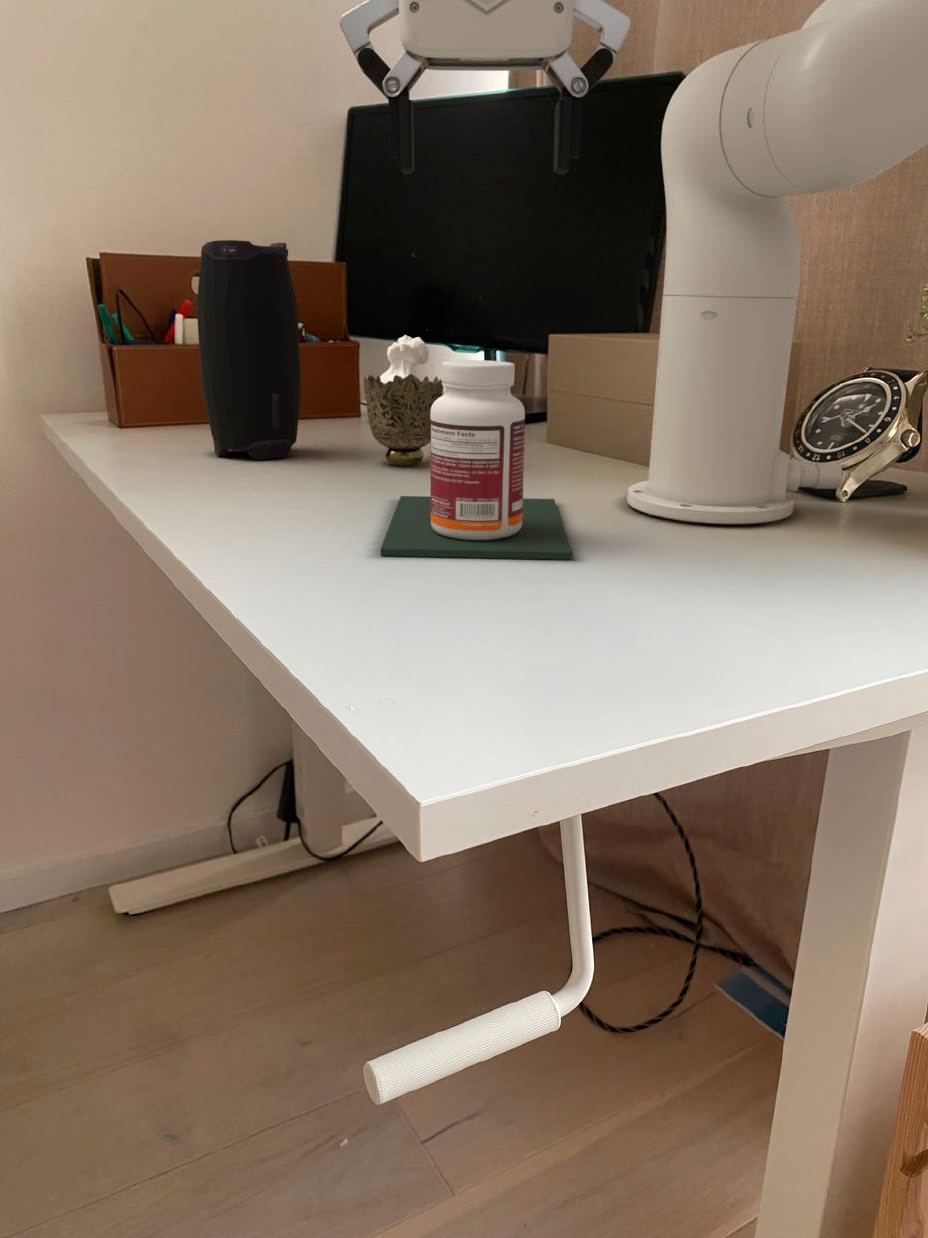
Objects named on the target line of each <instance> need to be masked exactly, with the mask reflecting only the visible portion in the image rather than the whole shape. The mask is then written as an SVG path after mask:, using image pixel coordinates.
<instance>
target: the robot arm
mask: <svg viewBox="0 0 928 1238" xmlns="http://www.w3.org/2000/svg"><path fill="white" fill-rule="evenodd" d="M396 16H398V27H399V39H400V43H401V45H402V47H403V52H402V54H401V55H400V56H399V58H398V59H397V61H396V62H395V63H394V65H393V66H392V67H391V68H390V66H389V65H388V64H387V63H386V62H385V61H384V60H383V58H381V56H380V55H379V54H378V53H377V52H376V51H375V48H374V47H373V43H372V42H371V40H370V34H371V32H372V31H373V30H374V29H376V28H378V27H379V26H381V25H383V24H385V23H386V22H388V21H389V20H391V19H393V18H395V17H396ZM574 17H575V18H577V19H578V20H580V21H582V22H584V23H585V24H587V25H588V26H590V27H592V28H593V29H594V30H596V31H597V32H598V33H599V34H600V35H599V36H600V41H599V44H598V45H597V46H596V50H595V51H594V54H593V55H592V56H591V57H590V58H589V59H588V60H587V61H586V62H585V63H584V64H583V65H582V66H581V67H580V68H579V66H578V65H577V63H576V62H575V61H574V59H573V58H572V56H571V55H570V53H569V52H568V50H567V49H568V48H569V47H570V45H571V43H572V38H573V27H574ZM339 27H340V29H341V31H342V33H343V35H344V38H345V39H346V41H347V44H348V46H349V48H350V50H351V51H352V54H353V56H354V58H355V60H356V62H357V64H358V66H359V68H360V70H361V72H362V73H363V74H364V75H365V76H366V78H367V79H369V81H370V82H371V83H372V84H373V85H374V86H375V87H376V88H377V89H378V90H379V91H380V93H382V95H383V96H384V97H385V99H386V100H387V101H388V136H389V137H388V139H389V159H394V160H395V159H400V171H401V173H402V175H412V173H414V172H415V143H414V142H415V137H414V136H415V134H414V132H415V131H414V105H413V100H412V99H410V92H411V90H412V89H413V88H414V86H415V85H416V83H417V82H418V81H419V80H420V78H421V77H422V75H423V74H424V72H425V71H426V70H430V71H457V72H458V71H464V72H465V71H469V72H470V71H472V72H473V71H474V72H476V71H477V72H478V71H479V72H481V71H482V72H484V71H485V72H487V71H488V72H489V71H490V72H495V71H496V72H500V71H501V72H502V71H503V72H505V71H507V72H508V71H509V72H512V71H513V72H514V71H518V72H519V71H520V72H521V71H541V70H543V72H544V73H545V74H546V76H547V77H548V78H549V80H550V81H551V82H552V83H553V86H555V88H556V90H558V92H559V100H558V101H557V103H556V104H555V107H554V131H553V132H554V133H553V136H554V138H553V170H552V171H553V173H556V175H565V174H567V173H568V172H569V170H570V162H571V160H577V159H579V158H580V154H581V136H582V135H581V134H582V107H583V106H582V105H583V98H584V97H585V96H586V95H587V94H588V93H589V92H590V91H591V90H592V89H593V87H595V85H596V84H597V83H598V82H599V81H600V80H601V79H602V78H603V77H604V76H605V75H606V74H607V73H608V72H609V70H610V68H611V67H612V66H613V64H614V62H615V60H616V58H617V55H618V53H619V52H620V50H621V47H622V45H623V44H624V42H625V39H626V37H627V36H628V33H629V32H630V29H631V27H632V19H631V17H630V16H629V15H628V14H627V13H624V12H623V11H621V10H620V9H618V8H616V7H615V6H614V5H612V4H610V3H609V2H607V1H605V0H366V1H363V2H361V3H360V4H358V5H357V6H355V7H354V8H352V9H351V10H349V11H347V12H345V13H344V14H343V15H342V16H341V17H340V19H339ZM661 128H662V129H661V137H660V138H661V139H660V154H661V165H662V176H663V177H662V178H663V185H664V196H665V210H666V211H665V212H666V213H665V214H666V215H665V216H666V219H665V220H666V239H665V240H666V242H665V261H664V263H665V264H664V276H663V277H664V278H663V289H662V290H663V291H662V300H661V310H660V311H661V312H660V323H659V324H660V326H659V336H658V337H659V338H658V350H657V351H658V352H657V363H656V376H655V387H654V388H655V389H654V400H653V402H654V403H653V413H652V427H651V428H652V429H651V439H650V440H651V441H650V453H649V465H648V466H649V467H648V478H647V480H644V481H643V480H642V481H639V482H636V483H633V484H631V485H630V486H629V487H628V488H627V491H626V493H627V495H626V503H627V505H628V506H630V507H631V508H633V509H634V510H636V511H638V512H641V513H644V514H647V515H651V516H655V517H659V518H663V519H669V520H673V521H681V522H690V523H697V524H698V523H699V524H714V525H755V524H764V523H773V522H777V521H781V520H784V519H787V518H788V517H790V516H791V515H792V514H793V512H794V507H795V498H794V496H792V495H790V494H789V493H797V491H798V489H799V488H812V489H814V490H815V489H816V490H838V489H839V488H840V487H841V484H842V481H843V467H842V465H841V464H840V463H833V462H831V463H830V462H827V463H826V462H814V461H808V460H806V461H805V460H804V461H803V460H799V459H798V458H791V455H790V454H788V453H787V452H785V451H782V450H781V449H780V445H781V436H782V430H783V429H782V428H783V420H784V411H785V405H786V404H785V403H786V394H787V388H788V387H787V386H788V378H789V377H788V376H789V369H790V362H791V354H792V346H793V345H792V344H793V337H794V328H795V320H796V319H795V318H796V310H797V303H798V297H799V291H800V281H801V271H802V270H801V269H802V267H801V266H802V264H801V263H802V262H801V261H802V260H801V247H800V246H801V245H800V242H799V234H798V231H797V227H796V224H795V220H794V217H793V214H792V210H791V206H790V202H789V196H800V195H809V194H818V193H824V192H833V191H839V190H843V189H847V188H851V187H855V186H858V185H860V184H862V183H865V182H867V181H869V180H871V179H873V178H875V177H877V176H879V175H881V174H883V173H885V172H886V171H888V170H889V169H892V168H893V167H895V166H897V165H898V164H900V163H901V162H902V161H905V159H908V158H909V157H910V156H912V155H914V154H915V153H916V152H919V150H921V149H922V148H924V147H925V146H927V145H928V0H824V1H823V2H822V3H821V4H820V5H819V6H818V7H817V8H816V9H815V10H814V11H813V12H812V13H811V14H810V15H809V17H808V18H807V20H806V21H805V22H804V24H803V25H802V27H801V28H800V29H796V30H793V31H791V32H788V33H787V32H786V33H783V34H780V35H775V36H772V37H767V38H764V39H760V40H757V41H753V42H751V43H750V42H749V43H748V44H745V45H744V44H743V45H740V46H738V47H734V48H732V49H729V50H728V49H727V50H726V51H723V52H721V53H719V54H717V55H715V56H713V57H711V58H709V59H708V60H705V61H704V62H703V63H701V64H700V65H698V66H697V67H696V68H694V69H693V70H692V71H691V72H690V73H689V74H688V75H687V76H686V77H685V78H684V79H683V80H682V81H681V83H680V84H679V85H678V87H677V89H676V90H675V91H674V93H673V94H672V96H671V98H670V100H669V103H668V105H667V108H666V110H665V114H664V117H663V121H662V127H661Z"/></svg>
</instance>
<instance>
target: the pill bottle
mask: <svg viewBox="0 0 928 1238" xmlns="http://www.w3.org/2000/svg"><path fill="white" fill-rule="evenodd" d="M515 367H516V365H515V363H514V362H508V361H502V360H500V361H499V360H485V359H484V360H483V359H482V360H480V359H478V360H477V359H462V360H459V359H458V360H447V361H443V362H441V373H440V374H441V375H440V379H441V381H442V385H444V387H445V390H444V393H443V395H442V396H441V397H439V398H438V399H437V400H436V401H435V402H434V403H433V405H432V407H431V412H430V443H429V446H430V447H429V448H430V450H429V451H430V452H429V453H430V457H429V458H430V459H429V461H430V467H429V468H430V472H429V473H430V477H429V478H430V479H429V480H430V497H431V525H432V528H433V530H434V531H435V532H436V533H438V534H440V535H443V536H446V537H450V538H455V539H462V540H477V541H485V540H495V539H501V538H505V537H509V536H511V535H514V534H515V533H517V532H518V531H519V530H520V529H521V526H522V517H523V498H524V469H525V467H524V465H525V429H526V428H525V427H526V410H525V406H524V404H523V403H522V401H521V400H520V399H519V398H517V397H516V396H513V395H512V391H511V387H513V386H515V371H516V370H515V369H516V368H515Z"/></svg>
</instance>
